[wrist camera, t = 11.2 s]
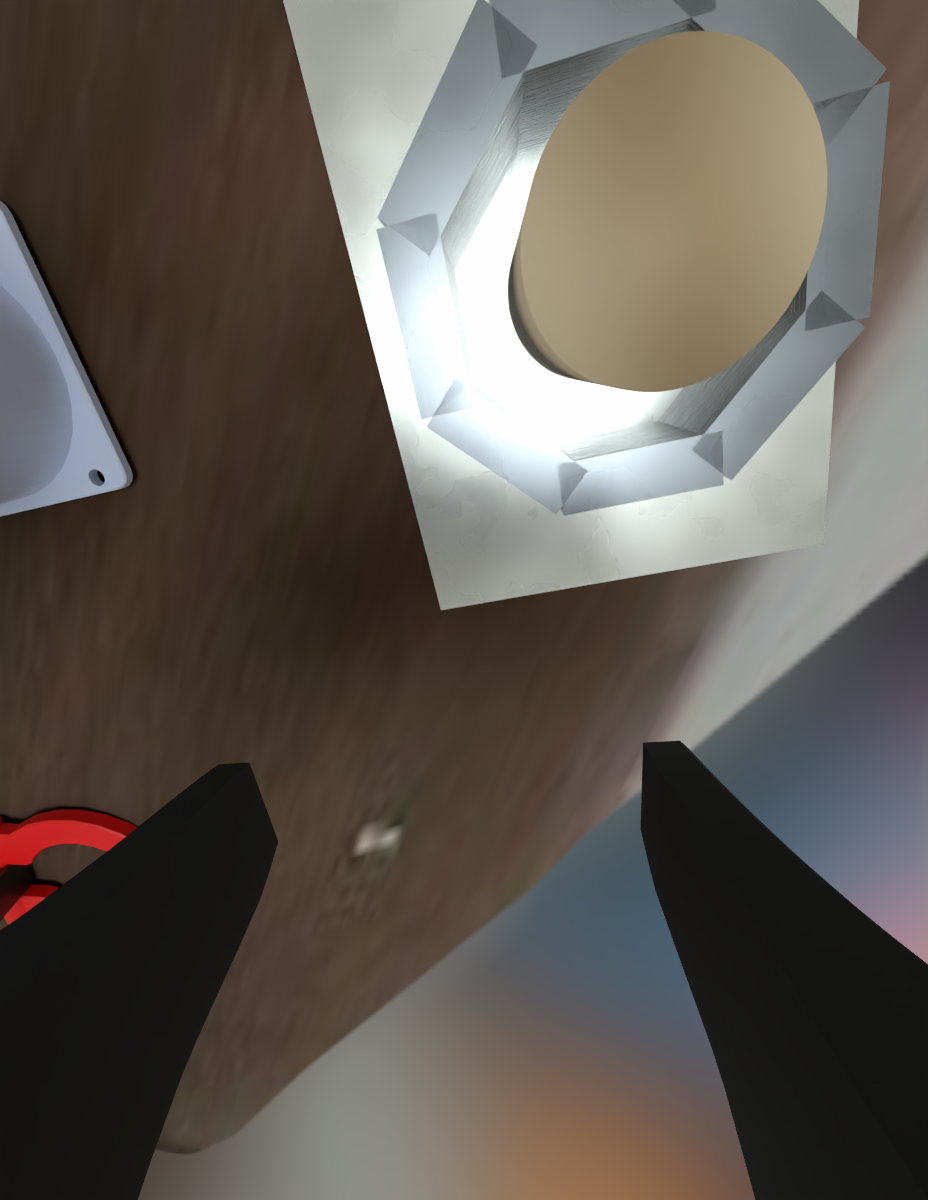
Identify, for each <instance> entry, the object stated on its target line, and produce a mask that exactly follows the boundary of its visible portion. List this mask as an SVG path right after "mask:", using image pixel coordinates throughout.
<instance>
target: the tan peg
mask: <svg viewBox="0 0 928 1200" xmlns="http://www.w3.org/2000/svg"><path fill="white" fill-rule="evenodd" d="M826 199H827V162H826V151H825V145H824V141H823V136H822V132H821V127H820V124H819V121H818V119H817V116H816V113H815V111H814V108H813V105H812V103H811V101H810V100H809V98H808V96H807V94H806V92H805V91H804V89H803V87H802V85H801V84H800V82H799V81H798V80H797V79H796V77H795V76H794V75H793V74H792V72H791V71H790V70H789V69H788V67H787V66H785V65H784V64H783V63H782V62H781V61H780V60H779V59H778V58H776V57H775V56H774V55H773V54H772V53H771V52H769V51H767V50H766V49H764V48H762V47H761V46H759V45H757V44H755V43H754V42H752V41H749V40H746V39H744V38H741V37H738V36H735V35H733V34H727V33H721V32H715V31H688V32H683V33H678V34H673V35H668V36H664V37H661V38H659V39H656V40H653V41H651V42H648V43H645V44H643V45H641V46H639V47H637V48H636V49H634V50H632V51H630V52H628V53H627V54H625V55H623V56H621V57H620V58H619V59H617V60H616V61H615V62H613V63H612V64H611V65H609V66H608V67H607V68H605V69H604V70H603V71H602V72H600V73H599V74H598V75H597V76H596V77H595V78H594V79H593V80H592V81H591V82H590V83H589V84H588V85H587V86H586V87H585V88H584V89H583V90H582V91H581V93H580V94H579V95H578V96H577V98H576V99H575V100H574V101H573V102H572V104H571V105H570V106H569V107H568V109H567V110H566V112H565V113H564V115H563V116H562V118H561V119H560V121H559V123H558V124H557V126H556V127H555V129H554V130H553V132H552V134H551V136H550V138H549V140H548V142H547V144H546V146H545V148H544V150H543V152H542V155H541V158H540V160H539V163H538V166H537V168H536V171H535V174H534V177H533V180H532V184H531V188H530V192H529V196H528V200H527V203H526V207H525V211H524V215H523V219H522V223H521V227H520V230H519V234H518V238H517V242H516V246H515V250H514V253H513V257H512V261H511V265H510V270H509V277H508V305H509V311H510V316H511V320H512V323H513V326H514V329H515V331H516V333H517V335H518V338H519V340H520V341H521V343H522V345H523V346H524V348H525V349H526V350H527V352H528V353H529V354H530V355H531V356H532V358H533V359H535V360H536V361H537V362H538V363H539V364H540V365H541V366H543V367H544V368H546V369H548V370H549V371H551V372H553V373H555V374H557V375H560V376H563V377H566V378H570V379H574V380H579V381H584V382H589V383H593V384H598V385H603V386H607V387H612V388H617V389H621V390H628V391H635V392H662V391H669V390H675V389H679V388H683V387H686V386H690V385H693V384H695V383H698V382H700V381H703V380H705V379H708V378H710V377H712V376H714V375H715V374H717V373H719V372H721V371H723V370H724V369H726V368H728V367H729V366H730V365H732V364H733V363H735V362H736V361H738V360H739V359H740V358H742V357H743V356H744V355H745V354H747V353H748V352H749V351H750V350H751V349H752V348H753V347H754V346H756V345H757V344H758V343H759V342H760V341H761V340H762V339H763V338H764V337H765V335H766V334H767V333H768V332H769V331H770V330H771V329H772V328H773V327H774V326H775V324H776V323H777V321H778V320H779V319H780V317H781V316H782V315H783V313H784V312H785V311H786V309H787V308H788V306H789V305H790V303H791V301H792V300H793V298H794V297H795V295H796V293H797V292H798V290H799V288H800V286H801V284H802V282H803V280H804V278H805V276H806V274H807V271H808V269H809V267H810V265H811V262H812V259H813V256H814V253H815V251H816V248H817V245H818V241H819V237H820V233H821V229H822V225H823V221H824V214H825V207H826Z"/></svg>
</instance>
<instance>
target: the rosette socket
mask: <svg viewBox="0 0 928 1200" xmlns="http://www.w3.org/2000/svg"><path fill="white" fill-rule="evenodd" d="M283 2H284V6H285V9H286V13H287V17H288V21H289V25H290V29H291V33H292V36H293V40H294V44H295V48H296V52H297V56H298V60H299V64H300V67H301V71H302V75H303V79H304V83H305V87H306V91H307V94H308V98H309V102H310V106H311V110H312V114H313V118H314V122H315V125H316V129H317V133H318V137H319V141H320V145H321V149H322V152H323V156H324V160H325V164H326V168H327V172H328V176H329V179H330V183H331V187H332V191H333V195H334V199H335V203H336V207H337V210H338V214H339V218H340V222H341V226H342V230H343V234H344V237H345V241H346V245H347V249H348V253H349V257H350V261H351V265H352V268H353V272H354V276H355V280H356V284H357V288H358V292H359V295H360V299H361V303H362V307H363V311H364V315H365V319H366V322H367V326H368V330H369V334H370V338H371V342H372V346H373V350H374V353H375V357H376V361H377V365H378V369H379V373H380V377H381V380H382V384H383V388H384V392H385V396H386V400H387V404H388V407H389V411H390V415H391V419H392V423H393V427H394V431H395V435H396V438H397V442H398V446H399V450H400V454H401V458H402V462H403V465H404V469H405V473H406V477H407V481H408V485H409V489H410V493H411V496H412V500H413V504H414V508H415V512H416V516H417V520H418V523H419V527H420V531H421V535H422V539H423V543H424V547H425V550H426V554H427V558H428V562H429V566H430V570H431V574H432V578H433V581H434V585H435V589H436V593H437V597H438V601H439V605H440V608H441V610H445V609H451V608H457V607H463V606H469V605H474V604H480V603H486V602H492V601H498V600H503V599H509V598H515V597H521V596H527V595H532V594H538V593H544V592H550V591H556V590H562V589H567V588H573V587H579V586H585V585H591V584H596V583H602V582H608V581H614V580H620V579H625V578H631V577H637V576H643V575H649V574H655V573H660V572H666V571H672V570H678V569H684V568H689V567H695V566H701V565H707V564H713V563H718V562H724V561H730V560H736V559H742V558H748V557H753V556H759V555H765V554H771V553H777V552H782V551H788V550H794V549H800V548H806V547H811V546H817V545H823V544H824V534H825V518H826V503H827V487H828V472H829V456H830V441H831V425H832V410H833V394H834V379H835V363H836V360H837V359H838V358H839V357H840V356H841V355H842V353H843V352H844V351H845V350H846V349H847V348H848V346H849V345H850V344H851V343H852V342H853V341H854V340H855V338H856V337H857V336H858V335H859V334H860V333H861V332H862V330H863V329H864V328H865V327H864V326H862V325H861V324H860V323H859V322H858V321H857V320H858V319H862V318H866V317H870V310H871V298H872V287H873V275H874V264H875V252H876V240H877V229H878V217H879V206H880V194H881V182H882V171H883V159H884V147H885V136H886V124H887V113H888V101H889V89H890V81H889V82H885V83H882V84H878V85H875V84H876V82H877V81H878V80H879V78H880V77H881V76H882V74H883V73H884V71H885V70H886V68H885V67H884V66H883V65H882V64H881V63H880V62H879V61H878V60H877V59H876V58H875V57H874V56H873V55H872V54H871V53H870V52H869V51H868V50H867V49H866V48H865V47H864V46H863V45H862V44H861V43H860V42H859V41H858V40H857V39H856V38H857V23H858V7H859V0H283ZM688 31H715V32H721V33H727V34H733V35H735V36H738V37H741V38H744V39H746V40H749V41H752V42H754V43H755V44H757V45H759V46H761V47H762V48H764V49H766V50H767V51H769V52H771V53H772V54H773V55H774V56H775V57H776V58H778V59H779V60H780V61H781V62H782V63H783V64H784V65H785V66H787V67H788V69H789V70H790V71H791V72H792V74H793V75H794V76H795V77H796V79H797V80H798V81H799V82H800V84H801V85H802V87H803V89H804V91H805V92H806V94H807V96H808V98H809V100H810V101H811V103H812V105H813V108H814V111H815V113H816V116H817V119H818V121H819V124H820V127H821V132H822V136H823V141H824V145H825V151H826V162H827V199H826V207H825V214H824V221H823V225H822V229H821V233H820V237H819V241H818V245H817V248H816V251H815V253H814V256H813V259H812V262H811V265H810V267H809V269H808V271H807V274H806V276H805V278H804V280H803V282H802V284H801V286H800V288H799V290H798V292H797V293H796V295H795V297H794V298H793V300H792V301H791V303H790V305H789V306H788V308H787V309H786V311H785V312H784V313H783V315H782V316H781V317H780V319H779V320H778V321H777V323H776V324H775V326H774V327H773V328H772V329H771V330H770V331H769V332H768V333H767V334H766V335H765V337H764V338H763V339H762V340H761V341H760V342H759V343H758V344H757V345H756V346H754V347H753V348H752V349H751V350H750V351H749V352H748V353H747V354H745V355H744V356H743V357H742V358H740V359H739V360H738V361H736V362H735V363H733V364H732V365H730V366H729V367H728V368H726V369H724V370H723V371H721V372H719V373H717V374H715V375H714V376H712V377H710V378H708V379H705V380H703V381H700V382H698V383H695V384H693V385H690V386H686V387H683V388H679V389H675V390H669V391H662V392H635V391H628V390H621V389H617V388H612V387H607V386H603V385H598V384H593V383H589V382H584V381H579V380H574V379H570V378H566V377H563V376H560V375H557V374H555V373H553V372H551V371H549V370H548V369H546V368H544V367H543V366H541V365H540V364H539V363H538V362H537V361H536V360H535V359H533V358H532V356H531V355H530V354H529V353H528V352H527V350H526V349H525V348H524V346H523V345H522V343H521V341H520V340H519V338H518V335H517V333H516V331H515V329H514V326H513V323H512V320H511V316H510V311H509V305H508V277H509V270H510V265H511V261H512V257H513V253H514V250H515V246H516V242H517V238H518V234H519V230H520V227H521V223H522V219H523V215H524V211H525V207H526V203H527V200H528V196H529V192H530V188H531V184H532V180H533V177H534V174H535V171H536V168H537V166H538V163H539V160H540V158H541V155H542V152H543V150H544V148H545V146H546V144H547V142H548V140H549V138H550V136H551V134H552V132H553V130H554V129H555V127H556V126H557V124H558V123H559V121H560V119H561V118H562V116H563V115H564V113H565V112H566V110H567V109H568V107H569V106H570V105H571V104H572V102H573V101H574V100H575V99H576V98H577V96H578V95H579V94H580V93H581V91H582V90H583V89H584V88H585V87H586V86H587V85H588V84H589V83H590V82H591V81H592V80H593V79H594V78H595V77H596V76H597V75H598V74H599V73H600V72H602V71H603V70H604V69H605V68H607V67H608V66H609V65H611V64H612V63H613V62H615V61H616V60H617V59H619V58H620V57H621V56H623V55H625V54H627V53H628V52H630V51H632V50H634V49H636V48H637V47H639V46H641V45H643V44H645V43H648V42H651V41H653V40H656V39H659V38H661V37H664V36H668V35H673V34H678V33H683V32H688ZM874 85H875V86H874Z"/></svg>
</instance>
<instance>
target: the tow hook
mask: <svg viewBox="0 0 928 1200" xmlns="http://www.w3.org/2000/svg"><path fill="white" fill-rule="evenodd" d="M136 828H137V827H136V826H134V825H133V824H131V823H129V822H126V821H123V820H121V819H118V818H115V817H113V816H110V815H107V814H102V813H97V812H92V811H87V810H54V811H49V812H44V813H39V814H36V815H35V816H33V817H31V818H29V819H27V820H25V821H23V822H22V823H21V824H12V823H4V822H3V820H2V818H1V816H0V921H1V920H2V919H3V918H4V917H5V919H6V921H7V923H8V925H9V924H11V923H12V922H13V921H15V920H16V919H18V918H19V917H20V916H22V915H23V914H25V913H26V912H27V911H29V910H30V909H31V908H33V907H34V906H35V905H37V904H38V903H39V902H41V901H42V900H43V899H45V898H46V897H47V896H49V895H50V894H51V893H53V892H54V891H55V890H57V889H58V887H56V886H53V885H32V881H33V877H32V875H31V872H30V870H29V868H28V866H27V865H28V864H30V863H32V862H33V861H34V860H35V858H36V857H37V856H38V855H39V854H40V853H41V852H42V850H43V849H45V848H47V847H49V846H53V845H58V844H82V845H87V846H92V847H96V848H99V849H101V850H104V851H108V850H110V849H111V848H112V847H113V846H115V845H116V844H117V843H118V842H120V841H121V840H122V839H124V838H125V837H126V836H127V835H129V834H130V833H131V832H132V831H134V830H135V829H136Z"/></svg>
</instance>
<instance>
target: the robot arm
mask: <svg viewBox="0 0 928 1200" xmlns="http://www.w3.org/2000/svg"><path fill="white" fill-rule="evenodd" d="M98 471H100V472H101V473H102V474H103V475H104V478H105V482H102V481H101V480H100V479H99V477H98V474H97V472H98ZM132 478H133V475H132V471H131V468H130V466H129V464H128V462H127V460H126V458H125V455H124V453H123V451H122V449H121V447H120V445H119V443H118V440H117V438H116V436H115V434H114V432H113V430H112V428H111V425H110V423H109V421H108V419H107V417H106V415H105V413H104V410H103V408H102V406H101V404H100V402H99V400H98V398H97V396H96V393H95V391H94V389H93V387H92V385H91V383H90V381H89V378H88V376H87V374H86V372H85V370H84V368H83V366H82V363H81V361H80V359H79V357H78V355H77V353H76V351H75V348H74V346H73V344H72V342H71V340H70V338H69V336H68V333H67V331H66V329H65V327H64V325H63V323H62V321H61V318H60V316H59V314H58V312H57V310H56V308H55V306H54V303H53V301H52V299H51V297H50V295H49V293H48V291H47V288H46V286H45V284H44V282H43V280H42V278H41V276H40V274H39V271H38V269H37V267H36V265H35V263H34V261H33V259H32V256H31V254H30V252H29V250H28V248H27V246H26V244H25V241H24V239H23V237H22V235H21V233H20V231H19V229H18V226H17V224H16V222H15V220H14V218H13V216H12V214H11V212H10V211H9V209H8V208H7V206H6V205H5V204H3V203H2V202H1V201H0V516H5V515H9V514H13V513H18V512H22V511H27V510H31V509H35V508H40V507H44V506H48V505H53V504H57V503H62V502H66V501H70V500H75V499H79V498H83V497H88V496H92V495H97V494H101V493H105V492H110V491H114V490H118V489H122V488H125V487H127V486H129V485H130V484H131V482H132ZM641 832H642V837H643V841H644V845H645V849H646V854H647V858H648V862H649V866H650V870H651V874H652V878H653V882H654V885H655V890H656V893H657V896H658V899H659V902H660V904H661V907H662V910H663V913H664V916H665V918H666V921H667V924H668V927H669V930H670V932H671V935H672V938H673V941H674V944H675V947H676V950H677V952H678V955H679V958H680V961H681V963H682V966H683V969H684V972H685V975H686V977H687V980H688V983H689V986H690V988H691V991H692V994H693V997H694V1000H695V1002H696V1005H697V1008H698V1011H699V1014H700V1016H701V1019H702V1022H703V1025H704V1027H705V1030H706V1033H707V1035H708V1039H709V1041H710V1044H711V1047H712V1050H713V1053H714V1056H715V1059H716V1062H717V1066H718V1069H719V1072H720V1075H721V1078H722V1081H723V1084H724V1087H725V1091H726V1094H727V1098H728V1101H729V1105H730V1108H731V1112H732V1116H733V1120H734V1123H735V1127H736V1131H737V1134H738V1137H739V1141H740V1144H741V1149H742V1152H743V1156H744V1159H745V1162H746V1167H747V1170H748V1174H749V1177H750V1181H751V1185H752V1189H753V1192H754V1196H755V1200H928V964H926V963H925V962H924V961H923V960H922V959H920V958H919V957H918V956H916V955H915V954H914V953H912V952H911V951H910V950H909V949H907V948H906V947H905V946H903V945H902V944H901V943H900V942H898V941H897V940H896V939H895V938H893V937H892V936H891V935H890V934H888V933H887V932H886V931H885V930H883V929H882V928H881V927H880V926H879V925H877V924H876V923H875V922H874V921H872V920H871V919H870V918H869V917H867V916H866V915H865V914H864V913H863V912H861V911H860V910H859V909H858V908H857V907H855V906H854V905H853V904H852V903H851V902H850V901H848V900H847V899H846V898H845V897H844V896H843V895H841V894H840V893H839V892H838V891H837V890H836V889H834V888H833V887H832V886H831V885H830V884H829V883H827V882H826V881H825V880H824V879H823V878H822V877H821V876H819V875H818V874H817V873H816V872H815V871H814V870H813V869H812V868H810V867H809V866H808V865H807V864H806V863H805V862H804V861H803V860H801V859H800V858H799V857H798V856H797V855H796V854H795V853H794V852H793V851H792V850H790V849H789V848H788V847H787V846H786V845H785V844H784V843H783V842H782V841H781V840H780V839H779V838H778V837H777V836H776V835H774V834H773V833H772V832H771V831H770V830H769V829H768V828H767V827H766V826H765V825H764V824H763V823H762V822H761V821H759V819H757V818H756V817H755V816H754V815H753V814H752V813H751V812H750V811H749V810H748V809H747V808H746V807H745V806H744V805H743V804H742V803H741V802H740V801H739V800H738V799H737V798H736V797H735V796H734V795H733V794H732V793H731V792H730V791H729V790H728V789H727V788H726V787H725V786H724V785H723V784H722V783H721V782H720V781H719V780H718V779H717V778H716V777H715V776H714V775H713V774H712V773H711V772H710V771H709V770H708V769H707V768H706V766H704V764H703V763H702V762H701V761H700V760H699V759H698V758H697V757H696V756H695V755H694V754H693V753H692V752H691V751H690V750H689V749H688V748H687V747H686V746H685V745H684V744H683V743H682V742H681V741H667V742H648V743H643V768H642V803H641ZM277 844H278V840H277V837H276V834H275V832H274V829H273V826H272V823H271V821H270V818H269V815H268V812H267V810H266V807H265V804H264V801H263V799H262V796H261V793H260V790H259V788H258V785H257V782H256V780H255V777H254V774H253V771H252V769H251V766H250V763H235V764H219V765H217V766H216V767H215V768H213V769H212V770H210V771H209V772H208V773H206V774H205V775H203V776H202V777H201V778H199V779H198V780H197V781H196V782H194V783H193V784H192V785H190V786H189V787H188V788H187V789H185V790H184V791H183V792H181V793H180V794H179V795H178V796H176V797H175V798H174V799H173V800H171V801H170V802H169V803H168V804H166V805H165V806H164V807H163V808H161V809H160V810H159V811H158V812H156V813H155V814H154V815H153V816H151V817H150V818H149V819H148V820H146V821H145V822H144V823H142V824H141V825H140V826H139V827H137V828H136V829H135V830H134V831H132V832H131V833H130V834H129V835H127V836H126V837H125V838H124V839H122V840H121V841H120V842H118V843H117V844H116V845H115V846H113V847H112V848H111V849H110V850H108V851H107V852H106V853H105V854H103V855H102V856H101V857H99V858H98V859H97V860H95V861H94V862H93V863H91V864H90V865H89V866H87V867H86V868H85V869H83V870H82V871H81V872H79V873H78V874H77V875H75V876H74V877H73V878H71V879H70V880H69V881H67V882H66V883H65V884H63V885H62V886H61V887H59V888H58V889H57V890H55V891H54V892H53V893H51V894H50V895H49V896H47V897H46V898H45V899H43V900H42V901H41V902H39V903H38V904H37V905H35V906H34V907H33V908H31V909H30V910H29V911H27V912H26V913H25V914H23V915H22V916H20V917H19V918H18V919H16V920H15V921H13V922H12V923H11V924H9V925H8V926H6V927H5V928H3V929H2V930H0V1200H138V1197H139V1194H140V1191H141V1188H142V1185H143V1182H144V1179H145V1176H146V1173H147V1170H148V1168H149V1165H150V1162H151V1159H152V1156H153V1153H154V1150H155V1148H156V1145H157V1142H158V1139H159V1137H160V1134H161V1131H162V1128H163V1126H164V1123H165V1120H166V1117H167V1115H168V1112H169V1109H170V1106H171V1104H172V1101H173V1098H174V1095H175V1093H176V1090H177V1087H178V1084H179V1082H180V1079H181V1076H182V1074H183V1072H184V1069H185V1067H186V1064H187V1062H188V1060H189V1057H190V1055H191V1052H192V1050H193V1047H194V1045H195V1043H196V1040H197V1038H198V1036H199V1034H200V1032H201V1029H202V1027H203V1025H204V1023H205V1021H206V1018H207V1016H208V1014H209V1012H210V1010H211V1007H212V1005H213V1003H214V1001H215V999H216V996H217V994H218V992H219V990H220V988H221V985H222V983H223V981H224V979H225V977H226V974H227V972H228V970H229V968H230V966H231V963H232V961H233V959H234V957H235V955H236V952H237V950H238V948H239V946H240V944H241V941H242V939H243V937H244V935H245V932H246V930H247V928H248V926H249V923H250V921H251V919H252V917H253V914H254V912H255V910H256V907H257V905H258V903H259V900H260V898H261V895H262V892H263V889H264V886H265V883H266V880H267V877H268V874H269V871H270V867H271V864H272V861H273V857H274V854H275V851H276V847H277Z"/></svg>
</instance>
